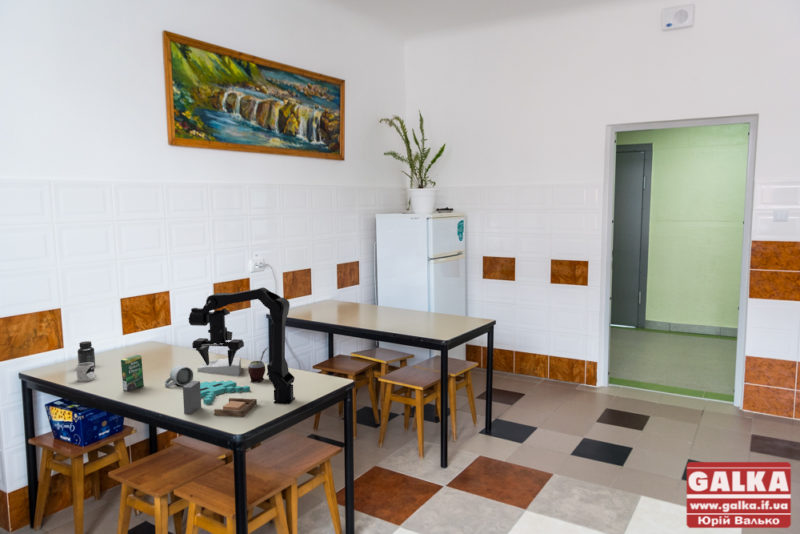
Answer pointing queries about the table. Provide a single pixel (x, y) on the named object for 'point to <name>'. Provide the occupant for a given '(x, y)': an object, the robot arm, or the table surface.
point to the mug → (85, 372)
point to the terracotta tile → (234, 405)
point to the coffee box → (132, 373)
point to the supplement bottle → (86, 353)
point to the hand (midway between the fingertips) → (219, 365)
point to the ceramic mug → (179, 376)
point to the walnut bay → (241, 413)
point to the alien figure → (219, 389)
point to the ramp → (222, 367)
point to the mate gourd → (257, 369)
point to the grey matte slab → (192, 397)
